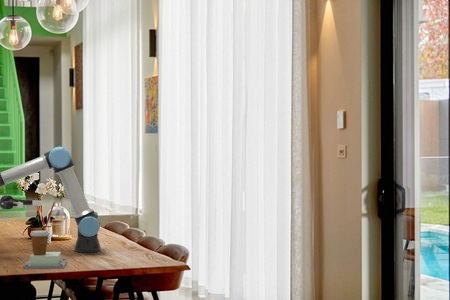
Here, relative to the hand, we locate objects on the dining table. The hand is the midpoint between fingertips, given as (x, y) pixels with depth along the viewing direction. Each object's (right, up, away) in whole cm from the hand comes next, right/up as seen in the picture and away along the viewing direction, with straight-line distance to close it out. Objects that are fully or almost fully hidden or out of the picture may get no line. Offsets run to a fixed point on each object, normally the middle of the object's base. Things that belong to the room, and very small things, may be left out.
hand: (32, 204), depth 410 cm
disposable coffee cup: (+7, -25, -12) cm, 29 cm away
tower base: (+10, -31, -10) cm, 34 cm away
